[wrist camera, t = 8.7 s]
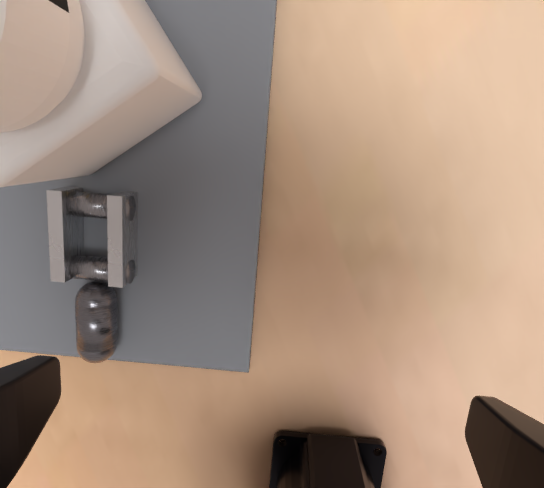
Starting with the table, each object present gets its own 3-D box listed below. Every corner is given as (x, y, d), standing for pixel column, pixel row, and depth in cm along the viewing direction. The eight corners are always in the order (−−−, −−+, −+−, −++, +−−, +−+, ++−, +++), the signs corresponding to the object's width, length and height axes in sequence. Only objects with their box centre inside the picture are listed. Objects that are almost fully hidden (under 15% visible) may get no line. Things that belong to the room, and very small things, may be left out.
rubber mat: (249, 367, 23) (248, 372, 23) (-29, 342, 23) (-36, 346, 23) (300, -312, 16) (300, -327, 16) (-96, -338, 16) (-107, -353, 16)
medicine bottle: (-3, 46, 19) (-453, -112, 7) (118, -45, 18) (-187, -396, 6) (89, 177, 20) (-175, 217, 9) (206, 98, 19) (85, 23, 8)
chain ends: (137, 354, 23) (123, 373, 21) (73, 348, 23) (53, 367, 21) (141, -320, 16) (121, -385, 14) (50, -326, 16) (17, -392, 14)
